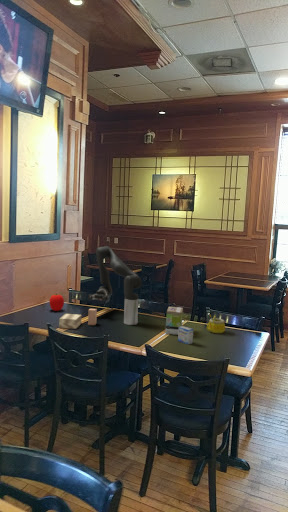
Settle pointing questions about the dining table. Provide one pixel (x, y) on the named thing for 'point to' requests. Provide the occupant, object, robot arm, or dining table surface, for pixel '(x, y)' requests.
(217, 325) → the yellow teapot
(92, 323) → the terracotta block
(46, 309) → the dining table surface
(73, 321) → the birch block
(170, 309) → the tea box
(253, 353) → the dining table surface
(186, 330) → the medicine box
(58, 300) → the red apple
